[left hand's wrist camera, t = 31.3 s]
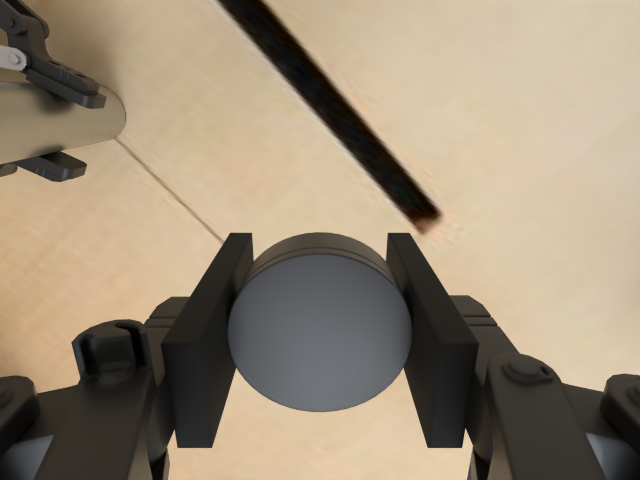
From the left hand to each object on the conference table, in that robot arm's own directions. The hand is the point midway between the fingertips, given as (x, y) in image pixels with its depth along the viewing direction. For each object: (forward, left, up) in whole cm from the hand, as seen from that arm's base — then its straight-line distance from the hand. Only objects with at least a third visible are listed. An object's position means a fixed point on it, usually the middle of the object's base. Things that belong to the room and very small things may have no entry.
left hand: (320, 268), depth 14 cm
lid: (0, 0, +4) cm, 4 cm away
